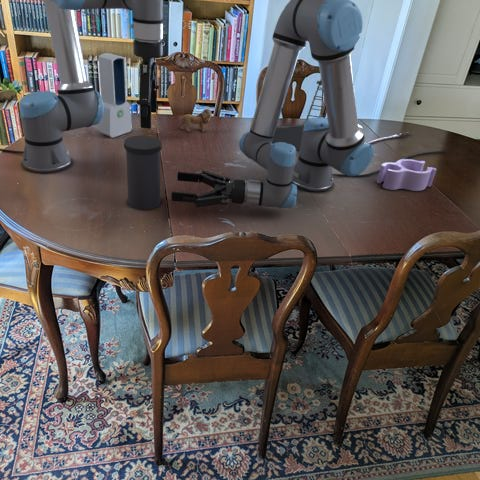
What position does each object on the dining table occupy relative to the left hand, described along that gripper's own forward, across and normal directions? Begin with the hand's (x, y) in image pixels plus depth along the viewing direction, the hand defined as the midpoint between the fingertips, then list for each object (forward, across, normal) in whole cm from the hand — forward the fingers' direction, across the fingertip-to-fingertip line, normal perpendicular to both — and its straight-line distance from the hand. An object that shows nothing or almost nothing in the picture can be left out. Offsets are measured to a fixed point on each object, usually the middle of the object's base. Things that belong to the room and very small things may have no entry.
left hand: (149, 119), depth 132 cm
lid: (+6, +3, -2) cm, 7 cm away
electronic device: (+25, -54, -20) cm, 63 cm away
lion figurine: (+25, -64, +12) cm, 70 cm away
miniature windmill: (+25, -80, +66) cm, 107 cm away
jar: (+25, +2, -1) cm, 25 cm away
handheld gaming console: (+25, -49, +52) cm, 75 cm away
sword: (+25, -70, +100) cm, 125 cm away
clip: (+25, -23, +90) cm, 96 cm away
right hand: (+18, +4, +8) cm, 20 cm away
